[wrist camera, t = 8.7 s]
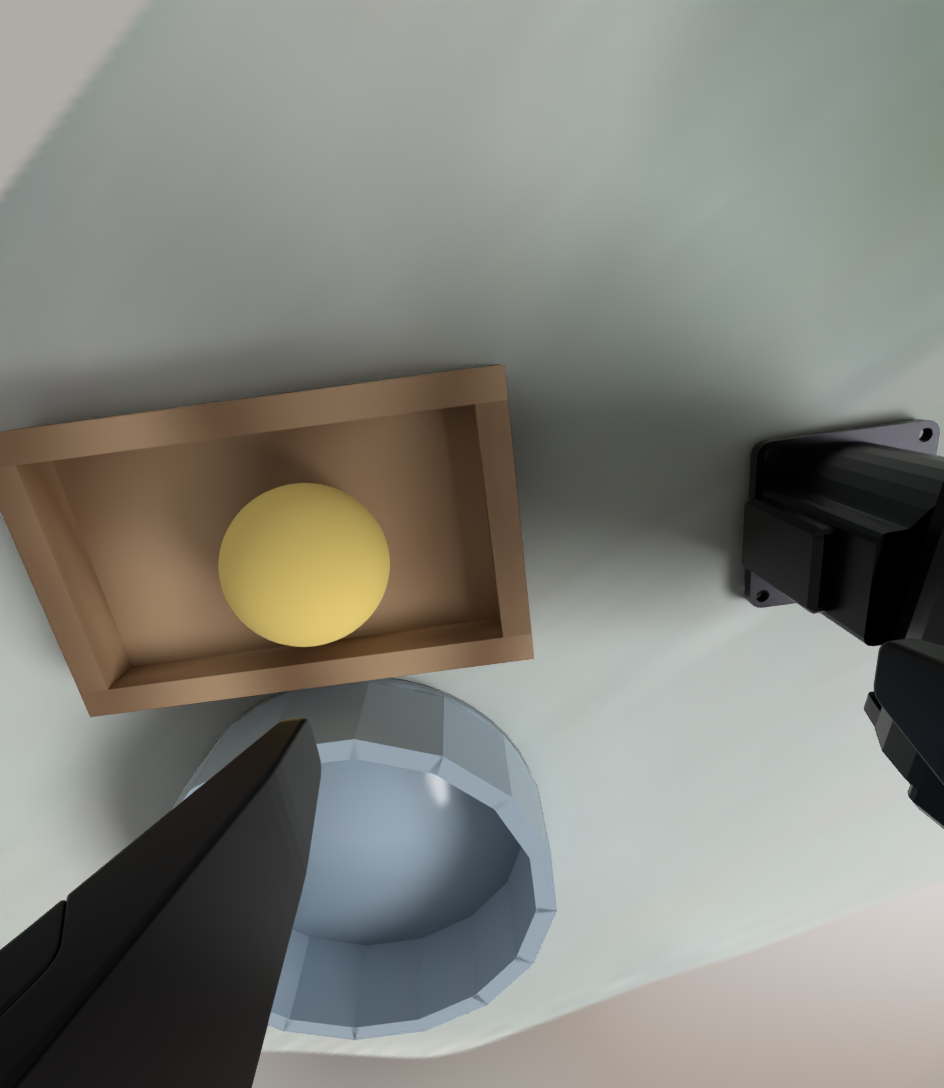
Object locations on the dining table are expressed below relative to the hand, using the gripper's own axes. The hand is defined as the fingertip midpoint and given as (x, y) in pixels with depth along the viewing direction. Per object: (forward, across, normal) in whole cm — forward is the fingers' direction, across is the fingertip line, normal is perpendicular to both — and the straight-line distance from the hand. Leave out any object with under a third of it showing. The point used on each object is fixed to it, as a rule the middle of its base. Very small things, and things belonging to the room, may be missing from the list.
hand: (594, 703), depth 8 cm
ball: (+11, +8, 0) cm, 13 cm away
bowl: (+12, +8, +14) cm, 20 cm away
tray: (+12, +8, 0) cm, 14 cm away
